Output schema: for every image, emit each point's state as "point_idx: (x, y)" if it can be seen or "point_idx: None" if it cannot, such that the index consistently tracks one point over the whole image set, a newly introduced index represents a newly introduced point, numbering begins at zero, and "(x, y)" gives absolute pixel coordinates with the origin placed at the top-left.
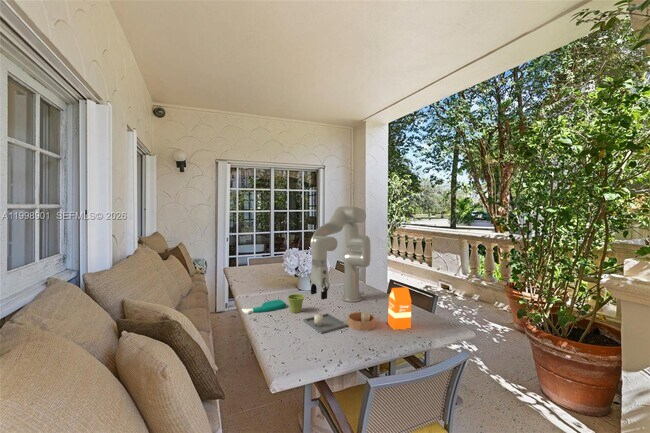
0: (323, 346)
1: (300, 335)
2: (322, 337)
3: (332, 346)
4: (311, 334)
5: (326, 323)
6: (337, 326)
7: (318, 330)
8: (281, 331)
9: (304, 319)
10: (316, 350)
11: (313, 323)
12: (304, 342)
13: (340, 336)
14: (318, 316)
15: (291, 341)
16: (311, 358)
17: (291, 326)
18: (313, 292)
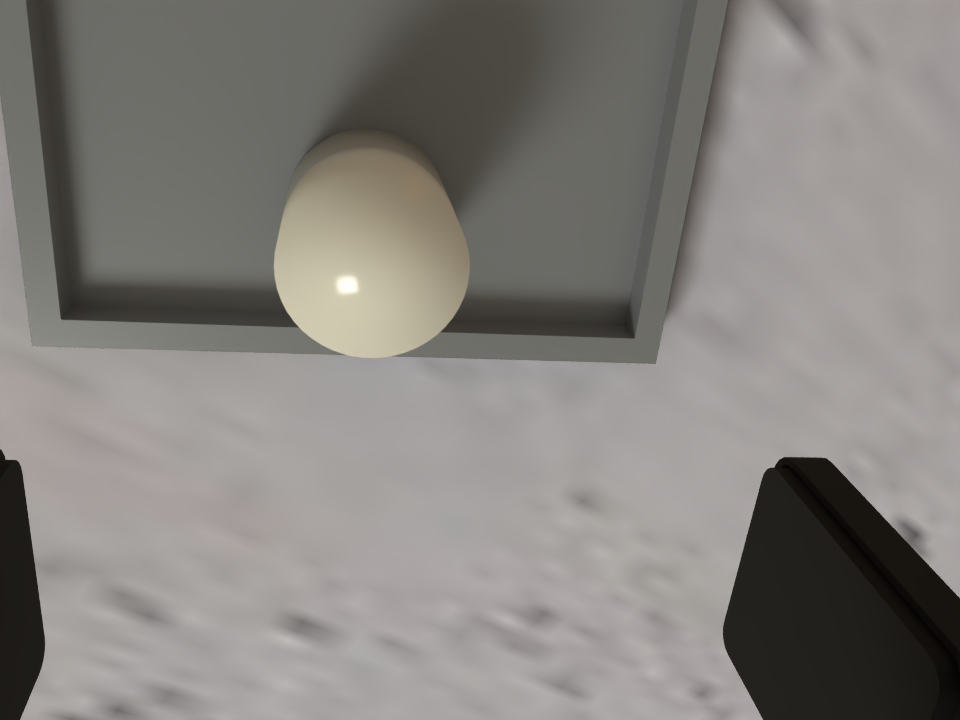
0: (874, 486)
1: (467, 565)
2: (707, 375)
3: (955, 407)
4: (536, 444)
5: (384, 32)
6: (699, 13)
7: (566, 354)
8: (214, 695)
9: (57, 333)
10: None
11: (244, 238)
12: (648, 603)
13: (875, 147)
14: (412, 302)
15: (530, 696)
16: None
17: (127, 543)
18: (14, 627)
